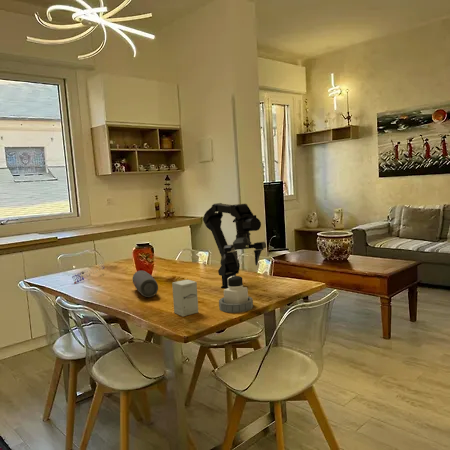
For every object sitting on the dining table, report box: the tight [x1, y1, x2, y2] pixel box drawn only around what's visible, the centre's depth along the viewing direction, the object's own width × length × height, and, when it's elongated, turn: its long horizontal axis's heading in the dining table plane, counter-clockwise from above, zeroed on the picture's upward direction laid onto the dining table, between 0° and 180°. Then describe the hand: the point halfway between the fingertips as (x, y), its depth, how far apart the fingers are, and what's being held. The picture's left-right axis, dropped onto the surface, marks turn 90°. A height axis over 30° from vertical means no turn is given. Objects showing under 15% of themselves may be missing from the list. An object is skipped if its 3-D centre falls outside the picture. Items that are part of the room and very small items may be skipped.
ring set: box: [71, 262, 105, 285], centre depth 244 cm, size 25×12×12 cm, turn 146°
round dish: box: [218, 295, 254, 314], centre depth 175 cm, size 14×14×3 cm
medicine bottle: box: [223, 275, 249, 304], centre depth 175 cm, size 7×7×12 cm
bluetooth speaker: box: [132, 270, 159, 298], centre depth 205 cm, size 23×9×10 cm, turn 21°
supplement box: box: [171, 279, 199, 317], centre depth 171 cm, size 7×7×13 cm
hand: (246, 265), depth 195 cm, fingers open, 9 cm apart
